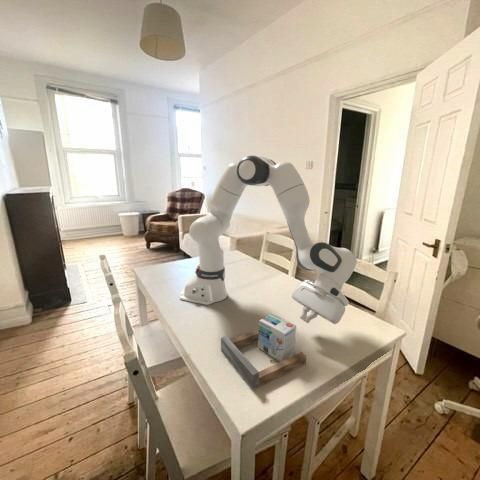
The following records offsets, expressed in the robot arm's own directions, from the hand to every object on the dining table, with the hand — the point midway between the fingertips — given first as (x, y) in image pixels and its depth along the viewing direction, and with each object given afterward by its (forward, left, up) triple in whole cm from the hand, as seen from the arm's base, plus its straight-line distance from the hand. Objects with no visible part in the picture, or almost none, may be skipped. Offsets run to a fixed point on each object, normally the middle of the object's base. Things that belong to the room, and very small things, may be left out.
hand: (303, 320), depth 94 cm
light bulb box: (-9, -7, -8) cm, 14 cm away
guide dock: (-14, -11, -8) cm, 19 cm away
